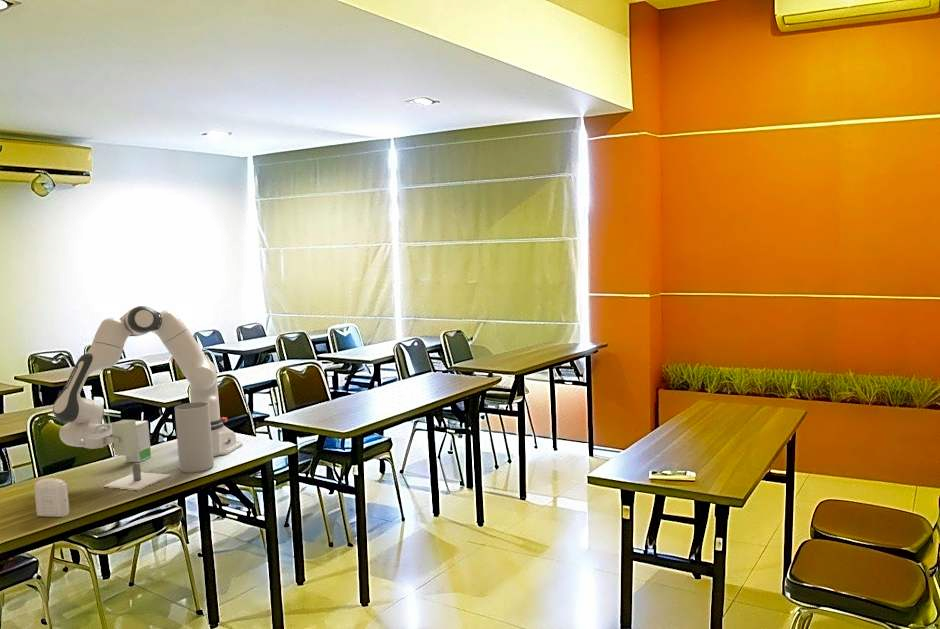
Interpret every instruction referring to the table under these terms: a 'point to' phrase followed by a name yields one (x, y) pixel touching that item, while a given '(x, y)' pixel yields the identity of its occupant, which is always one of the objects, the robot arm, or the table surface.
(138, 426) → the skincare box
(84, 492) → the table surface
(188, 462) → the cylinder vase
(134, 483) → the dock
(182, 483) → the table surface
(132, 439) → the light grey tall block
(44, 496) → the photo printer
